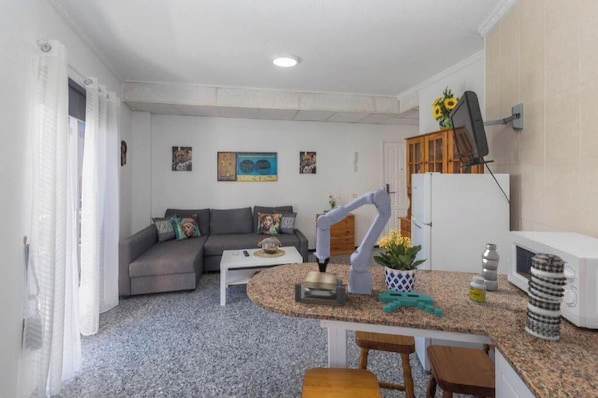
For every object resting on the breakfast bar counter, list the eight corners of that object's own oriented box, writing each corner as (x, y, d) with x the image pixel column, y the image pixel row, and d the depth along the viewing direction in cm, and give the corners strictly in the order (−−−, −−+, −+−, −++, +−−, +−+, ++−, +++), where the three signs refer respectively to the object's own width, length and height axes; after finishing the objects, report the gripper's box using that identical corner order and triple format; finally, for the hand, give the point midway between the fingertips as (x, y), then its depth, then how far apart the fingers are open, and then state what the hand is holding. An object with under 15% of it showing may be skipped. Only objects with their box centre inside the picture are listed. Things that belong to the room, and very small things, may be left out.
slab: (336, 278, 123) (336, 273, 123) (335, 289, 111) (336, 283, 111) (308, 276, 125) (308, 271, 124) (304, 287, 113) (305, 281, 113)
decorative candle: (542, 341, 87) (549, 259, 85) (516, 325, 96) (522, 251, 94) (569, 340, 88) (577, 259, 86) (541, 324, 97) (547, 251, 95)
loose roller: (304, 298, 113) (304, 287, 113) (305, 296, 117) (306, 285, 117) (335, 300, 111) (335, 289, 111) (335, 298, 115) (335, 288, 115)
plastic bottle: (494, 293, 123) (498, 247, 121) (476, 288, 128) (479, 244, 126) (499, 290, 127) (503, 245, 125) (482, 285, 132) (485, 242, 130)
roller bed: (344, 279, 136) (344, 266, 136) (344, 305, 108) (345, 288, 108) (303, 276, 139) (304, 263, 138) (294, 301, 111) (295, 285, 111)
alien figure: (442, 317, 102) (423, 294, 122) (442, 311, 102) (424, 289, 122) (384, 313, 104) (375, 291, 124) (384, 307, 104) (375, 286, 124)
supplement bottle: (465, 300, 116) (467, 276, 115) (475, 298, 117) (477, 274, 117) (478, 305, 110) (480, 280, 110) (488, 303, 112) (490, 279, 112)
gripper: (315, 239, 131) (314, 268, 132) (312, 247, 117) (311, 279, 118) (331, 240, 130) (330, 269, 131) (329, 248, 116) (328, 281, 117)
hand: (322, 274), depth 124 cm, fingers closed
